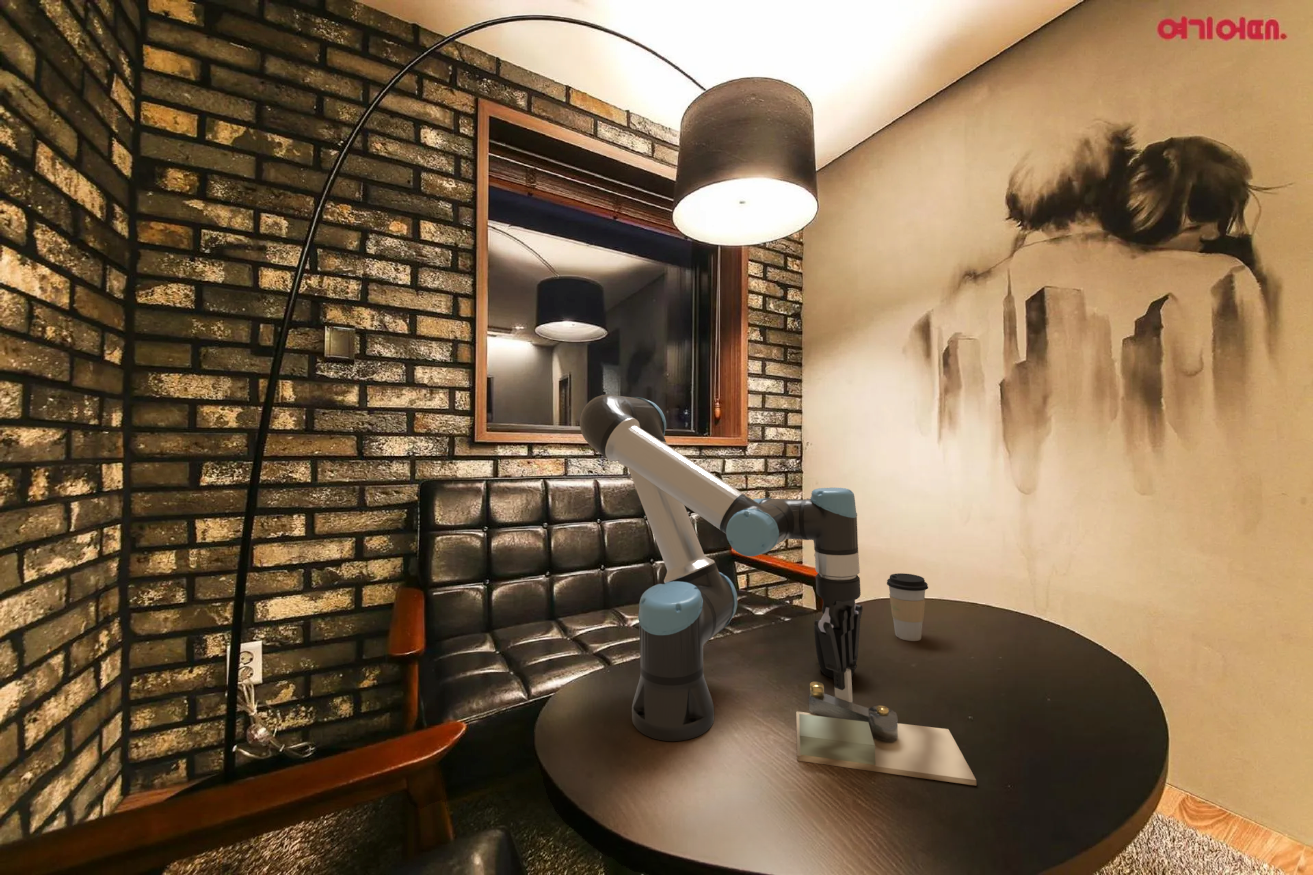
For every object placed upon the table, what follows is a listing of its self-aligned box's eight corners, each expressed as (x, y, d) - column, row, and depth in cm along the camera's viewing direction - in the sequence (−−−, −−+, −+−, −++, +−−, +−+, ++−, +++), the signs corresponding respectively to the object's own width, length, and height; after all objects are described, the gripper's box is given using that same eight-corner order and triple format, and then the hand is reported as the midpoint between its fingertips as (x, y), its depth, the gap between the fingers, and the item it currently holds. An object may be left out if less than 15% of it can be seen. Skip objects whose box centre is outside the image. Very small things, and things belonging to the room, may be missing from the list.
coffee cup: (879, 632, 128) (878, 574, 128) (908, 627, 131) (907, 570, 131) (908, 646, 119) (906, 584, 119) (938, 640, 122) (937, 580, 122)
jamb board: (797, 760, 78) (796, 736, 78) (796, 715, 91) (795, 694, 91) (976, 785, 71) (975, 759, 71) (948, 733, 84) (947, 711, 84)
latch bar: (901, 733, 83) (900, 705, 83) (893, 745, 79) (892, 716, 79) (816, 702, 93) (815, 678, 93) (805, 712, 89) (805, 687, 90)
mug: (868, 679, 103) (867, 631, 104) (830, 685, 101) (829, 636, 101) (834, 655, 115) (833, 612, 115) (800, 660, 113) (799, 616, 113)
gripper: (836, 563, 96) (842, 684, 96) (798, 578, 88) (805, 710, 88) (874, 570, 90) (881, 698, 90) (838, 586, 82) (845, 727, 82)
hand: (843, 704), depth 89 cm, fingers closed
